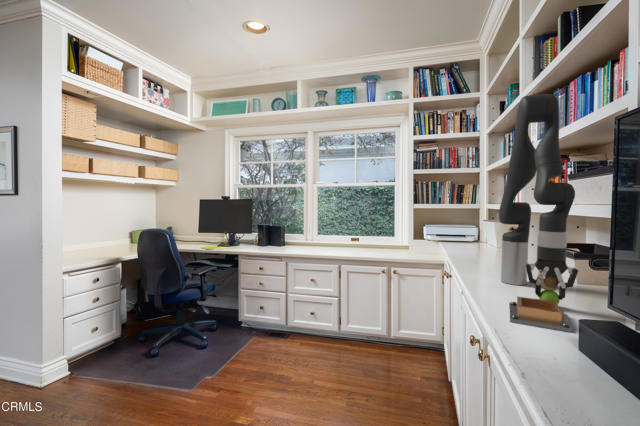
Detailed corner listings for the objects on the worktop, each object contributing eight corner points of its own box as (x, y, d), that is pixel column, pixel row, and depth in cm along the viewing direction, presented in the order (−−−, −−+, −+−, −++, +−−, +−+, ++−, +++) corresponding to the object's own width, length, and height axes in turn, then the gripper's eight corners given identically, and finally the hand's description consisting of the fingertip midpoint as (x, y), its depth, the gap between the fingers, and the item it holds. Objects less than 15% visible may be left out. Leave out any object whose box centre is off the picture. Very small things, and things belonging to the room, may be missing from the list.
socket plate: (509, 305, 105) (509, 293, 104) (562, 313, 98) (563, 300, 98) (510, 321, 91) (510, 308, 91) (572, 332, 84) (573, 317, 84)
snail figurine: (531, 303, 107) (533, 267, 106) (551, 303, 106) (553, 268, 106) (542, 309, 101) (544, 271, 100) (563, 309, 101) (565, 272, 100)
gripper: (577, 245, 102) (575, 298, 103) (524, 242, 109) (522, 291, 110) (582, 248, 96) (580, 304, 97) (525, 245, 103) (523, 297, 104)
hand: (549, 297), depth 103 cm, fingers closed on snail figurine, 5 cm apart
